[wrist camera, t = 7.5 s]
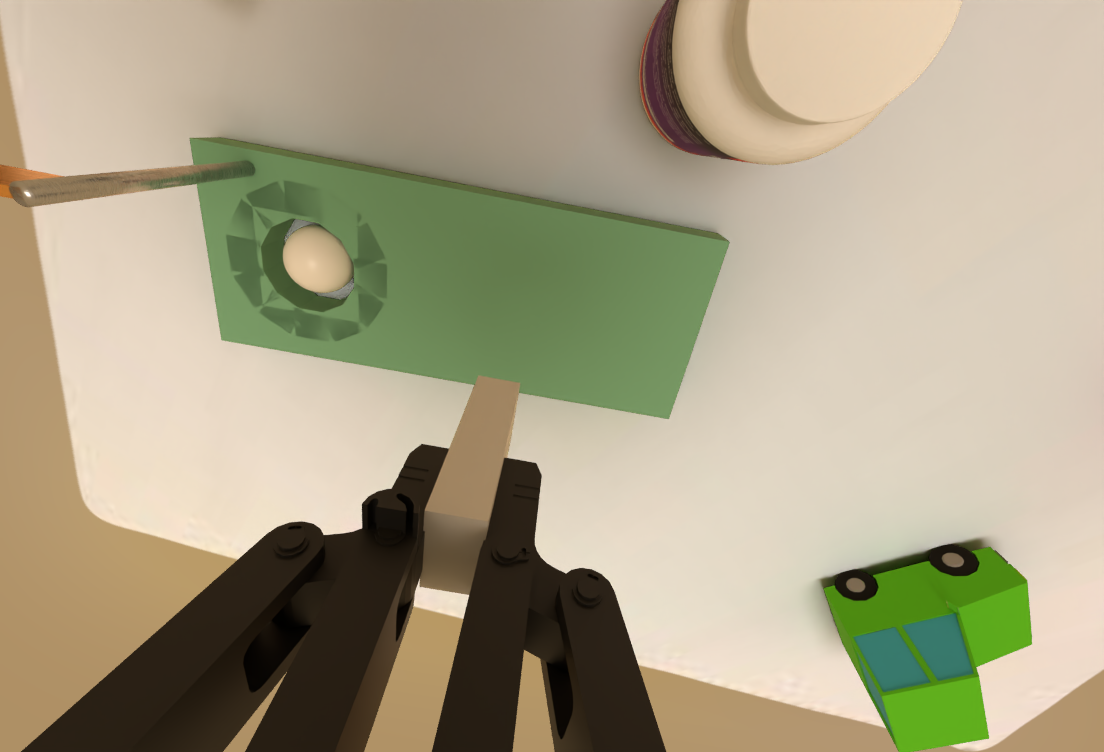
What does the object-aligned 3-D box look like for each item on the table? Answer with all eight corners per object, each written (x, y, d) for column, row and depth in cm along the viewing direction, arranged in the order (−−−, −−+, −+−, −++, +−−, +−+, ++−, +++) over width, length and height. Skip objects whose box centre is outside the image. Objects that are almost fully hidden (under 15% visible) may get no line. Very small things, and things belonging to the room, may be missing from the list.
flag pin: (180, 147, 26) (-98, 159, 15) (254, 162, 26) (30, 183, 15) (182, 163, 26) (-87, 185, 16) (255, 177, 26) (38, 209, 16)
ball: (339, 231, 31) (272, 220, 28) (368, 229, 29) (297, 218, 26) (338, 292, 32) (273, 288, 29) (367, 296, 29) (298, 292, 26)
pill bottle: (679, 183, 28) (766, 228, 15) (608, 46, 25) (641, -42, 12) (815, 93, 26) (1056, 56, 13) (755, -69, 23) (987, -329, 10)
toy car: (993, 601, 42) (1103, 726, 34) (838, 638, 46) (902, 760, 37) (983, 523, 38) (1105, 641, 30) (814, 569, 42) (879, 688, 33)
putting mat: (220, 137, 28) (189, 137, 26) (718, 233, 29) (729, 241, 27) (245, 326, 33) (221, 340, 31) (662, 400, 34) (668, 419, 32)
